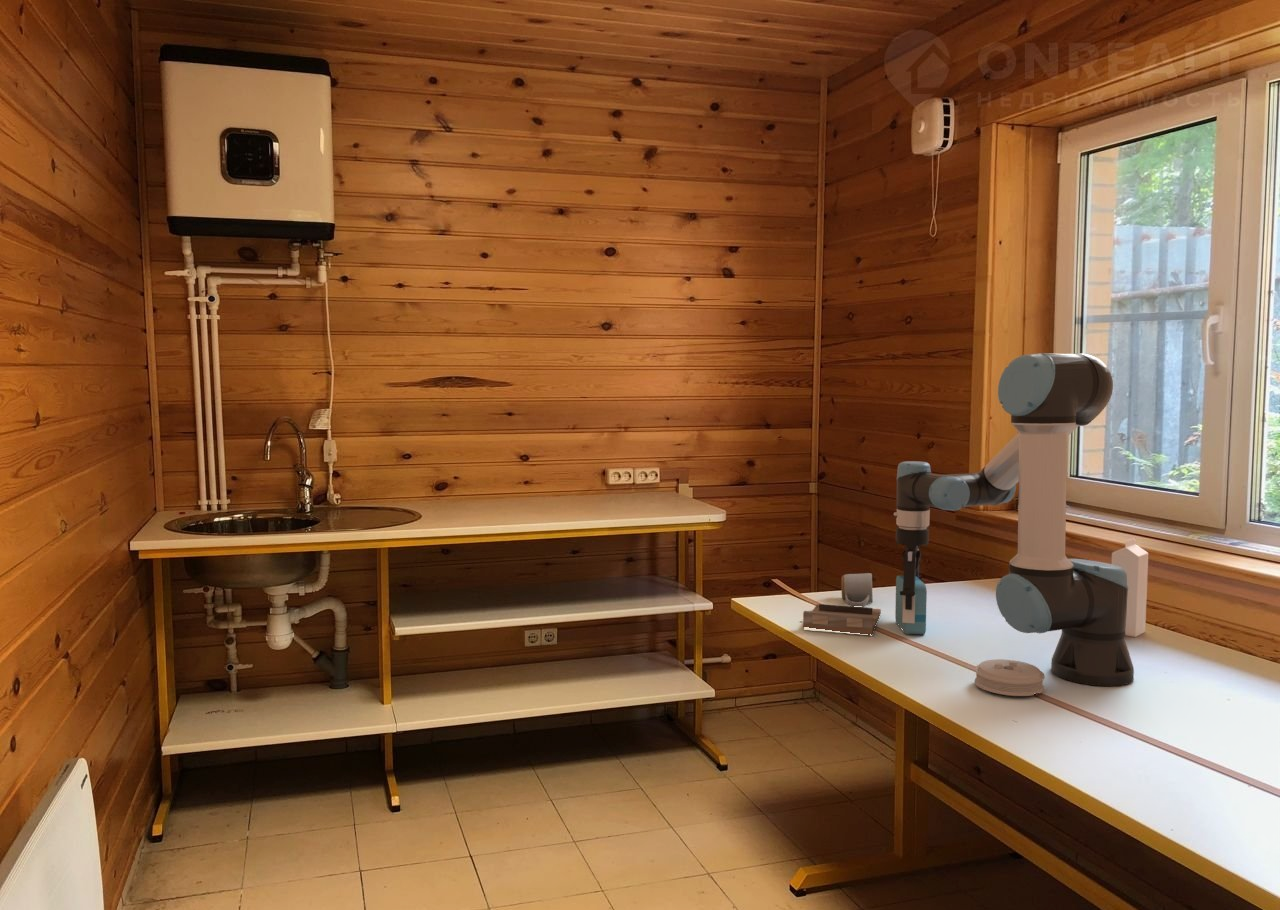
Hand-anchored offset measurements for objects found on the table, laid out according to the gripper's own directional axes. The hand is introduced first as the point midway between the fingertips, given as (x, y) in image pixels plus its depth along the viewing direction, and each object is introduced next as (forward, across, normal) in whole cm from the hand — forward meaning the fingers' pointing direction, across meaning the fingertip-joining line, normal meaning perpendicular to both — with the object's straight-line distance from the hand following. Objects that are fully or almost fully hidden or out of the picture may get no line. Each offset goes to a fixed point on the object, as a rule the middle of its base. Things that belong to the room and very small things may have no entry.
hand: (910, 615), depth 228 cm
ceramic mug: (+4, -22, -15) cm, 27 cm away
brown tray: (+3, -1, -16) cm, 16 cm away
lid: (+4, +37, +21) cm, 43 cm away
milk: (+4, -13, +48) cm, 50 cm away
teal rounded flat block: (+4, 0, 0) cm, 4 cm away
